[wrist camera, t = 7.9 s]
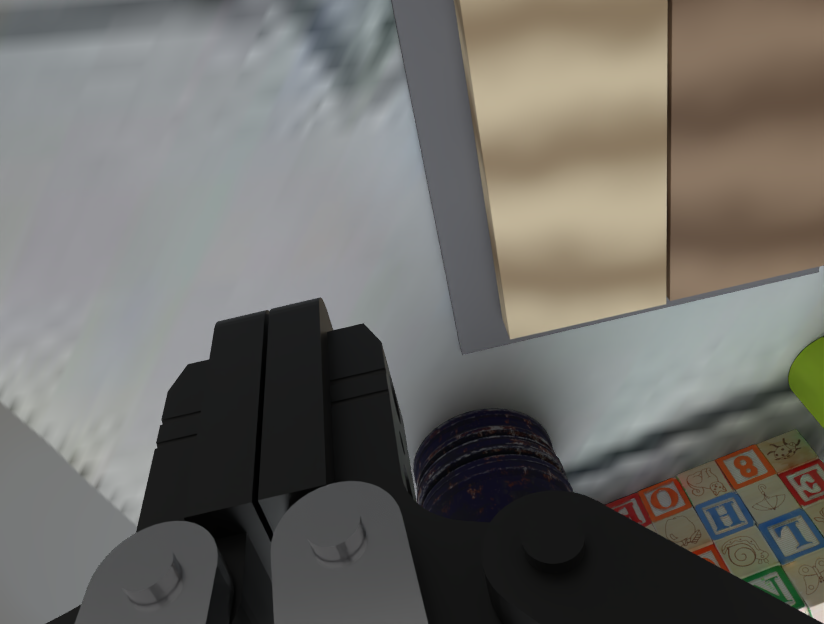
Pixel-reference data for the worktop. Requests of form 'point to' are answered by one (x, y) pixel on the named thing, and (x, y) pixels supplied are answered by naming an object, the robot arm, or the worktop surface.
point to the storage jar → (485, 464)
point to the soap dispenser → (810, 379)
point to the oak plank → (570, 154)
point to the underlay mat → (467, 176)
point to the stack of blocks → (748, 517)
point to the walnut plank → (743, 142)
